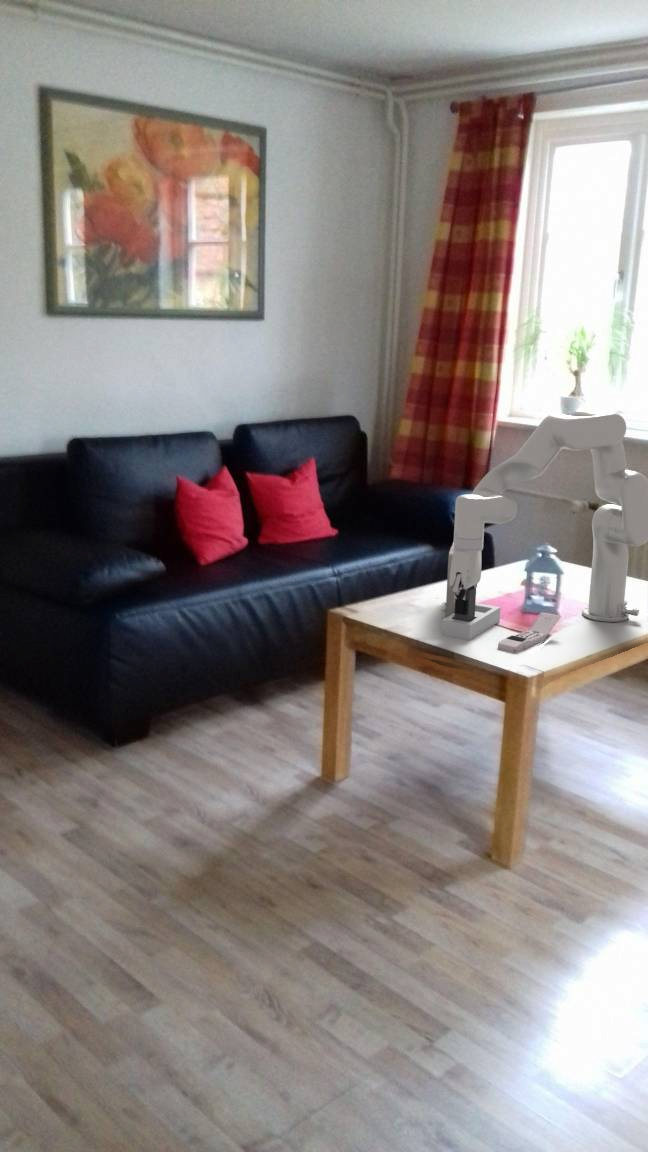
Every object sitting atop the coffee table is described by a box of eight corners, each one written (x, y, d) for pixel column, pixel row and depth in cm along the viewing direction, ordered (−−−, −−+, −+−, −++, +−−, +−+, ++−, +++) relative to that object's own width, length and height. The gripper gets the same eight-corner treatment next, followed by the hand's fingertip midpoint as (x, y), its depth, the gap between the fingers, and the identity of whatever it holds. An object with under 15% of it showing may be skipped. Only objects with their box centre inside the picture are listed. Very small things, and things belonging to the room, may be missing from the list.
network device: (467, 627, 275) (471, 555, 270) (434, 625, 277) (438, 553, 272) (473, 602, 299) (477, 535, 294) (443, 600, 301) (446, 533, 296)
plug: (474, 631, 268) (476, 587, 265) (467, 635, 265) (470, 591, 262) (457, 628, 271) (460, 584, 268) (451, 632, 267) (453, 588, 264)
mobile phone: (562, 615, 268) (514, 636, 250) (560, 637, 270) (512, 659, 251) (541, 611, 272) (492, 631, 253) (540, 632, 273) (491, 654, 255)
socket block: (499, 624, 278) (500, 606, 277) (469, 643, 262) (470, 624, 260) (472, 619, 282) (473, 601, 281) (441, 638, 266) (441, 619, 264)
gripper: (468, 535, 270) (464, 602, 275) (440, 547, 257) (437, 617, 261) (494, 539, 267) (490, 606, 271) (468, 551, 253) (464, 622, 257)
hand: (464, 611), depth 266 cm, fingers closed on plug, 4 cm apart
